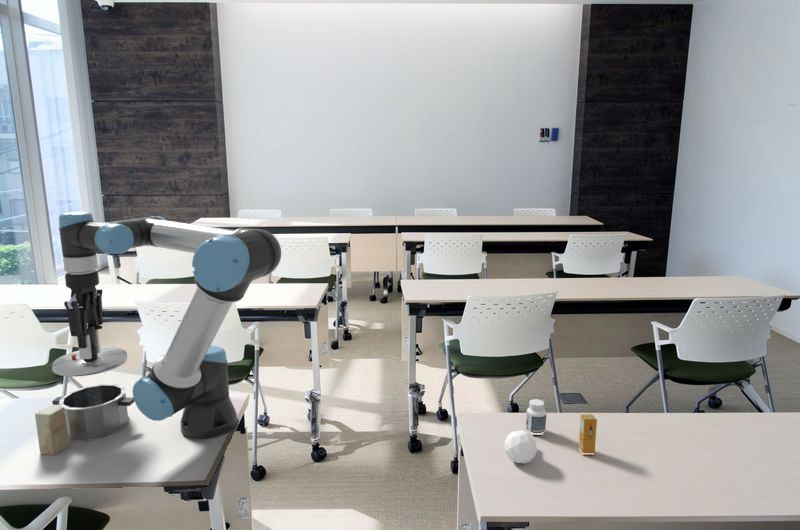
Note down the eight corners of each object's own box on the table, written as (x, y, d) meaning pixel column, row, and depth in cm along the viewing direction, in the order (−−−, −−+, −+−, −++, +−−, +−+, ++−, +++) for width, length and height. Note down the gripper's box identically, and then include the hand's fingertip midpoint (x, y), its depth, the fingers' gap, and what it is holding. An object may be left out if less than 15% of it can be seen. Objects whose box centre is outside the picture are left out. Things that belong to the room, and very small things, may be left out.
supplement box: (590, 448, 138) (593, 413, 136) (594, 455, 135) (597, 420, 133) (577, 448, 138) (580, 413, 136) (581, 455, 135) (584, 419, 133)
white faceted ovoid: (495, 451, 130) (503, 434, 141) (521, 476, 128) (527, 456, 139) (515, 430, 128) (522, 414, 139) (542, 454, 126) (546, 436, 137)
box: (53, 455, 134) (47, 415, 132) (39, 453, 135) (33, 413, 133) (70, 444, 139) (64, 406, 137) (56, 443, 140) (50, 404, 138)
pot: (148, 412, 157) (145, 384, 155) (119, 440, 141) (115, 409, 139) (76, 411, 157) (72, 383, 155) (39, 439, 141) (34, 408, 140)
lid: (139, 351, 151) (136, 317, 149) (105, 377, 134) (101, 339, 132) (78, 350, 151) (74, 316, 149) (36, 375, 134) (31, 338, 132)
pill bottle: (549, 433, 146) (551, 403, 144) (536, 438, 143) (538, 408, 141) (534, 425, 150) (536, 396, 148) (521, 430, 147) (523, 401, 145)
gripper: (85, 264, 145) (93, 344, 150) (46, 278, 129) (57, 367, 134) (112, 265, 145) (120, 344, 150) (76, 278, 129) (86, 368, 134)
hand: (90, 355), depth 142 cm, fingers closed on lid, 3 cm apart
